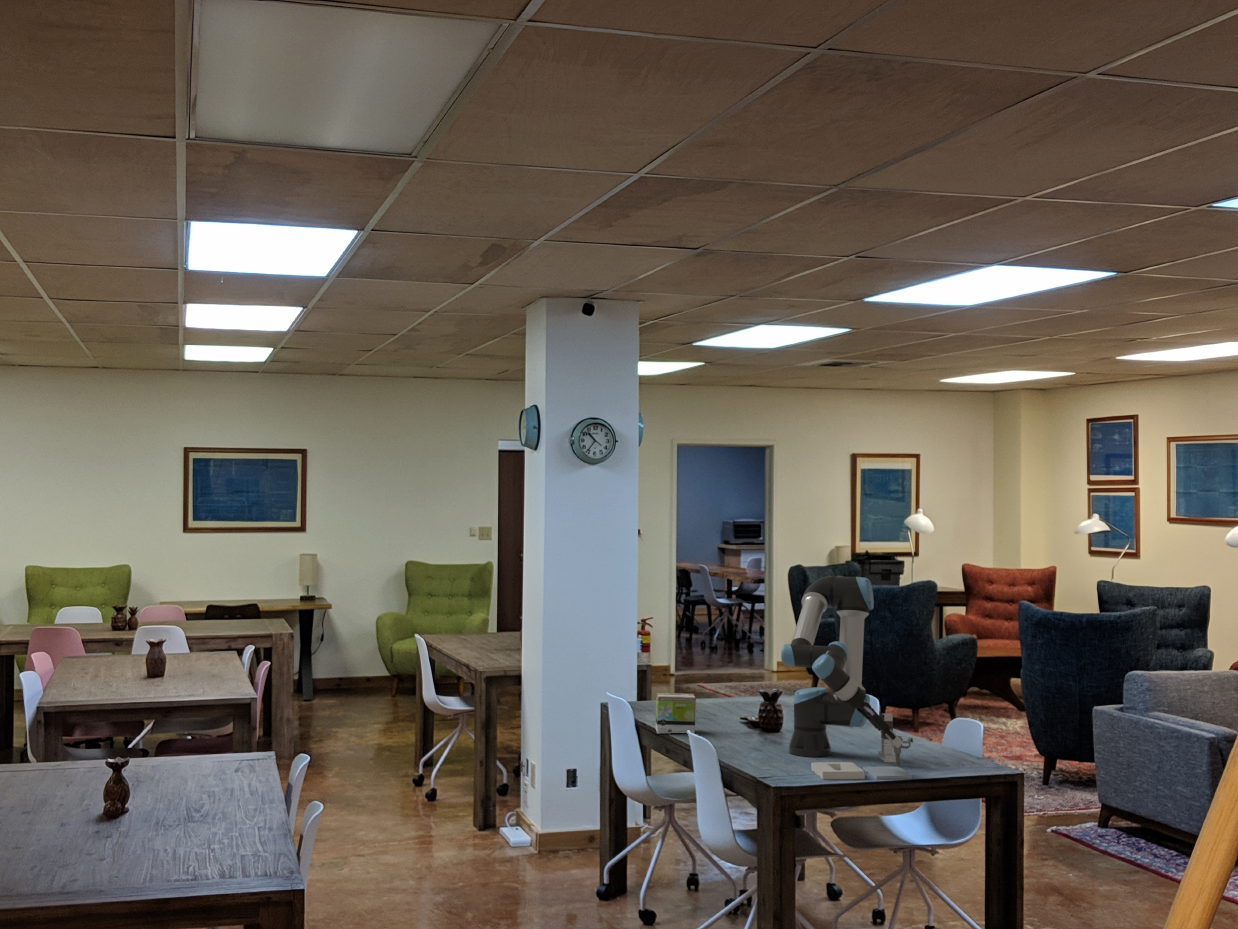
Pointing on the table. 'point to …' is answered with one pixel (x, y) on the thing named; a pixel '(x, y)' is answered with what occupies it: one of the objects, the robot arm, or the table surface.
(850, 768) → the block
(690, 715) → the tea box
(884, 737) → the t key
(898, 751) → the mechanical component
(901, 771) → the pad
